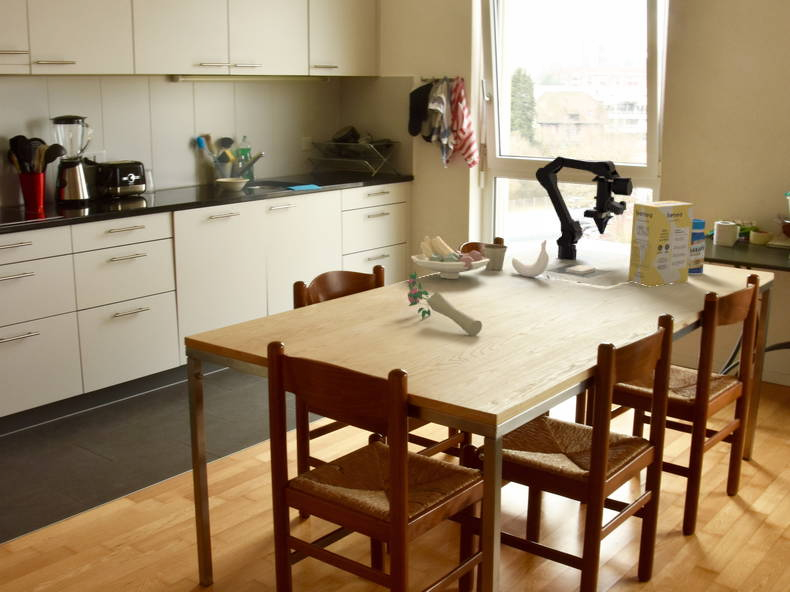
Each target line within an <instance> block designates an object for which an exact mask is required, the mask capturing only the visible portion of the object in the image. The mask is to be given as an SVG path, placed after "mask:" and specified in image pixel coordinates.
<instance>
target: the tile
mask: <svg viewBox="0 0 790 592" xmlns="http://www.w3.org/2000/svg"><path fill="white" fill-rule="evenodd" d="M595 269H596V267H593V266H587V265H586V266H585V265H581V264H579V265H576V266H574V267H570V268H566V272H570V273H576V274H581V275H582V274H586V273H590V272H593V271H595Z"/></svg>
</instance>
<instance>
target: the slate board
mask: <svg viewBox="0 0 790 592" xmlns="http://www.w3.org/2000/svg"><path fill="white" fill-rule="evenodd" d="M574 266H577V265H574V264H566V265H562V266H558V267H555V268H551V269H545V271H546V272H552V273H556V274H557V273H558V274H563V275H568V276H575V277H579V278H587V279H590V278H593V277H597V276H601V275H604V274H608V273H611V270H610V271H609V270H605V269H600V268H599V269H598V268H595V271H593V272H590V273H586V274H582V275H581V274H576V273H570V272H566V268H570V267H574Z"/></svg>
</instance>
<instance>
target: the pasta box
mask: <svg viewBox="0 0 790 592" xmlns="http://www.w3.org/2000/svg"><path fill="white" fill-rule="evenodd" d="M694 208H695V203H692V202H684V201H677V200H661V201H649V202H647V201H646V202H635V203H633V213H632V228H631V240H630V241H631V243H630V256H629V268H628V269H629V270H628V282H629V281H633V282H637V283H640V284H644V285H647V286H646V287H648V286H655V287H657V286H656V285H662V284H669V285H671V284H670V283H676V284H678V283H677V282H683V283H686V282H685V281H687V282H688V279H689V275H688V270H689V258H690V246H691V235H692V223H693V219H694ZM633 282H632V283H633ZM637 283H636V284H637ZM640 284H639V285H640ZM644 285H643V286H644ZM662 286H663V285H662Z"/></svg>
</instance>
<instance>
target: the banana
mask: <svg viewBox="0 0 790 592" xmlns="http://www.w3.org/2000/svg"><path fill="white" fill-rule="evenodd" d="M540 246H541V249H540V253H539V254H538V257H537V260H536V261H535V262H534V263H533V264H526V263H525V262H524V261H522V260H521V259H519V258H518V257H513V258H512V260H511V263H512V266H513V267H512V268H514V270H515V271H516V272H517V273H518V274H519V275H521V276H523V277H526V278H527V277H528V278H535V277H539V276H540V275H542V274H543V273H544V272H545V271H546V270H547V267H548V265H549V261H550V260H549V254H548V252H547V250H546V246H547V239H545V240H544V241H542V243H541V244H540Z"/></svg>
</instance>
